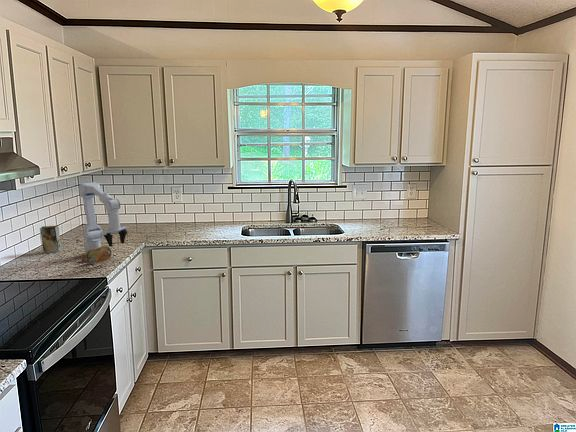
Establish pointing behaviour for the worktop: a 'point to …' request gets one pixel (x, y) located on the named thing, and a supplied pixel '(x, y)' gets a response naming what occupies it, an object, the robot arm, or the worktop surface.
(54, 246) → the coffee box
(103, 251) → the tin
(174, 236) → the worktop surface
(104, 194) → the robot arm
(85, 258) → the letter block
